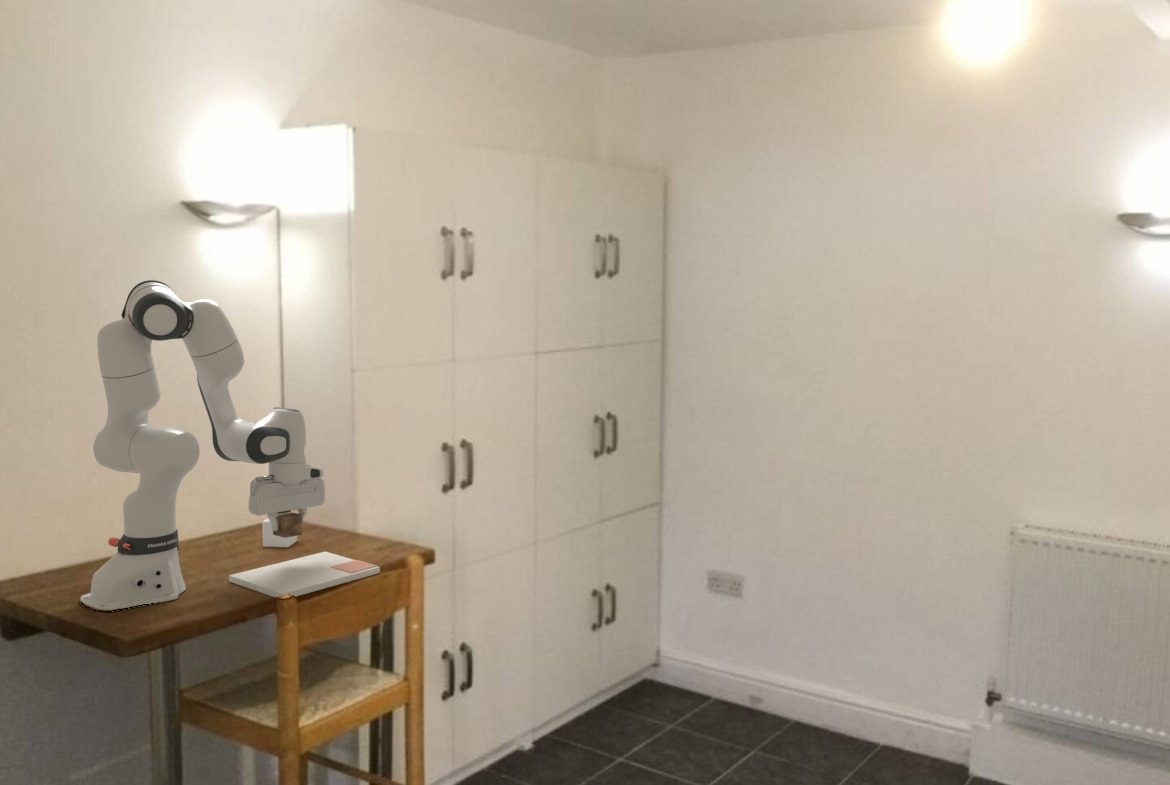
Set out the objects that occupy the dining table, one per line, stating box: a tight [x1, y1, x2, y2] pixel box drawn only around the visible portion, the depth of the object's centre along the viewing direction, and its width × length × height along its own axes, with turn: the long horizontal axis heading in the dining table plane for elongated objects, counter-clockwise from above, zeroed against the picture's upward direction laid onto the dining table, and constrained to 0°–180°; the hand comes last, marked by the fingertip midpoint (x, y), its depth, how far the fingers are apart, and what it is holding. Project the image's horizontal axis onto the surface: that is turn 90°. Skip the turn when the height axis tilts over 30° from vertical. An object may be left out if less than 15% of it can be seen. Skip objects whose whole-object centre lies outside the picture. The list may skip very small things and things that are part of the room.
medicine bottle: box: [261, 510, 298, 549], centre depth 290 cm, size 7×7×12 cm
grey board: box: [228, 551, 381, 599], centre depth 260 cm, size 28×22×2 cm
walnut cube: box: [273, 511, 303, 538], centre depth 264 cm, size 5×5×5 cm
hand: (287, 528), depth 264 cm, fingers closed on walnut cube, 5 cm apart
